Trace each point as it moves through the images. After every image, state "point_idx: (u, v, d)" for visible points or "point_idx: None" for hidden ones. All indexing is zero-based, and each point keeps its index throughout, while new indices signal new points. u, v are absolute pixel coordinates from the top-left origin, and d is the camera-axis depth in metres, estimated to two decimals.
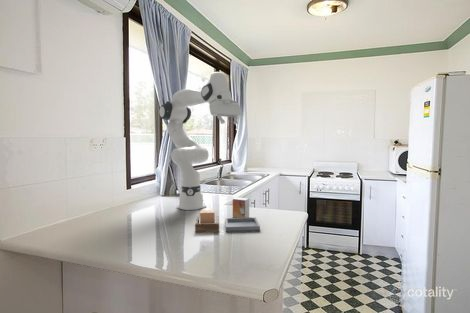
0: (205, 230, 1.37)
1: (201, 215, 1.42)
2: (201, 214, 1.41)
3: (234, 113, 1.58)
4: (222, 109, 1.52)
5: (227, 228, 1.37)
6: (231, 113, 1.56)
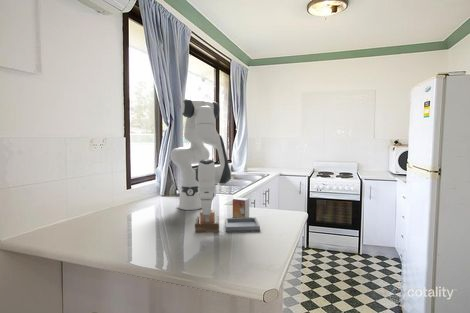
0: (205, 230, 1.37)
1: (201, 215, 1.42)
2: (201, 214, 1.41)
3: None
4: None
5: (227, 228, 1.37)
6: None
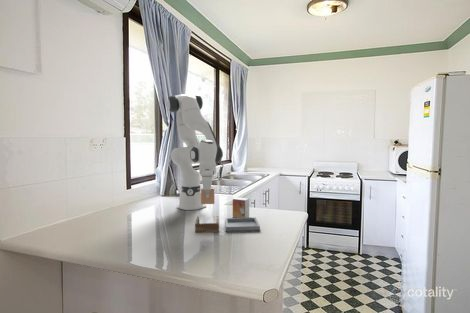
0: (205, 230, 1.37)
1: (202, 191, 1.52)
2: (202, 190, 1.52)
3: None
4: None
5: (227, 228, 1.37)
6: None
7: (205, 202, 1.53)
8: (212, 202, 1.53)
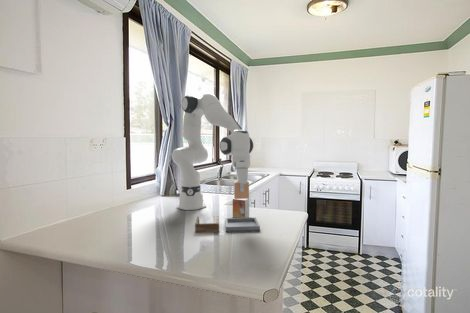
0: (205, 230, 1.37)
1: (236, 185, 1.41)
2: (236, 184, 1.40)
3: None
4: None
5: (227, 228, 1.37)
6: None
7: (239, 197, 1.41)
8: (246, 196, 1.41)
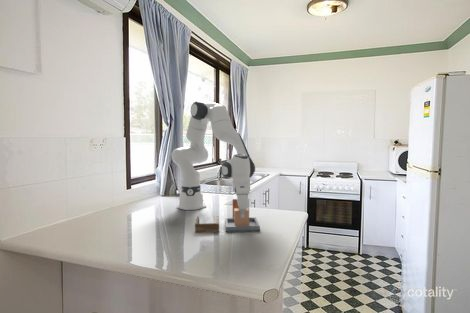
0: (205, 230, 1.37)
1: (236, 213, 1.41)
2: (236, 212, 1.41)
3: None
4: None
5: (227, 228, 1.37)
6: None
7: (239, 225, 1.42)
8: (247, 225, 1.42)
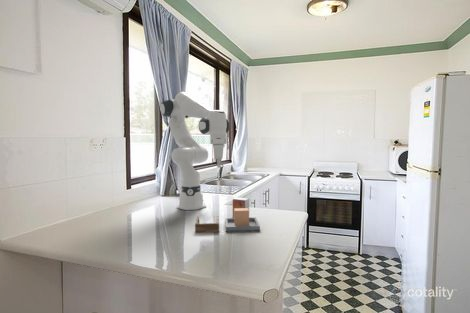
0: (205, 230, 1.37)
1: (236, 213, 1.41)
2: (236, 212, 1.41)
3: None
4: None
5: (227, 228, 1.37)
6: None
7: (239, 225, 1.42)
8: (247, 225, 1.42)
